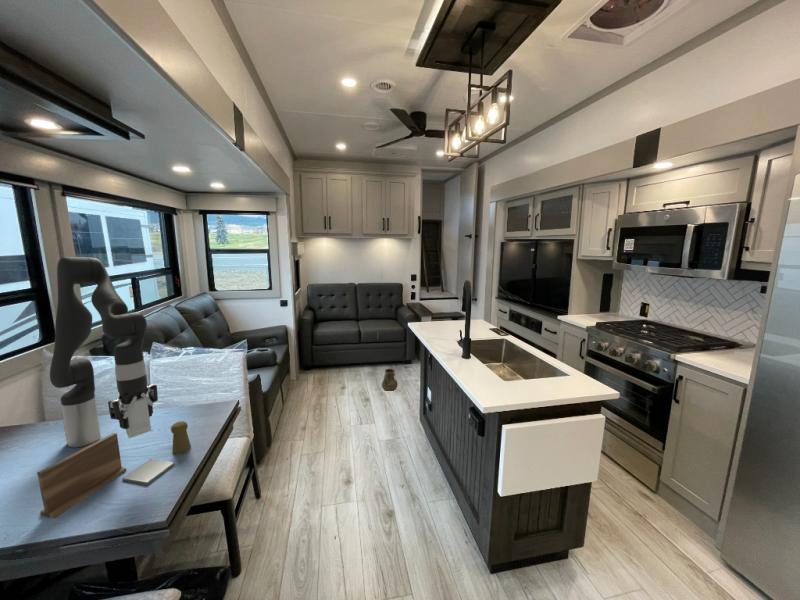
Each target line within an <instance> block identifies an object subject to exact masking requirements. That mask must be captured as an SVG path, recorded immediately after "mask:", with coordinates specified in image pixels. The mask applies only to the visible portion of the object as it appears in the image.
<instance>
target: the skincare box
mask: <svg viewBox="0 0 800 600" xmlns="http://www.w3.org/2000/svg"><path fill="white" fill-rule="evenodd" d="M128 405H129V404H125V403H124V404H123V408H124V409H125V408H127V407H128ZM123 414H124V413H123ZM127 417H128V422H129V428H128V429H125V431H126V435H127V436H128V439H131V438H134V437H138V436H140V435H143V434H147V433H150V432H152V426H151V420H150V419H151V418H150V417H149V410H148V404H147V398H146V397H144V398H139V399H137V400H136V401H135V402H134V405H133V407H132V409H131V411H129V413H128V416H127Z"/></svg>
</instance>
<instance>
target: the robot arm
mask: <svg viewBox="0 0 800 600" xmlns="http://www.w3.org/2000/svg"><path fill="white" fill-rule="evenodd" d="M56 272H57V273H56V278H57V279H56V280H57V281H56V283H57V306H56V315H55V325H54V326H55V327H54V330H55V331H54V336H55V337H54V349H53V353H52V357H51V363H50V368H49V379H50V380H49V381H50V383H51V384H52V386H53V387H55V388H58V389H62V388H63V389H64V388H67V387H71V386H73V388H71V389H69V390H68V391H67V392H65V393H64V394H63V395H61V397H60V405H61V410H62V416H63V421H62V424H63V430H64V436H65V440H66V444H67V446H68V447H69V448H74V449H75V448H81V447H86V446H89V445H91V444H93V443H95V442H97V441H99V440H100V439H101V437H102V436H101V435H102V434H101V429H100V422H99V421H100V420H99V414H98V409H97V402H96V396H95V391H96V387H95V386H96V383H95V371H94V367H93V364H92V362H91V360H90V359H89V358H87V357H80V358H75V359H73V356H74V354H75V353H76V351H77V350H78V349H80V347H81V346H82V345H83V344H84V343H85V341H87V339H88V338H89V337H90V335H91V332H92V325H93V314H92V313H91V311H90V310H89V309H88V307H87V306H86V305H84V303H83V302H81V300H80V299H79V298H78V297H77V295H76V292H75V288H74V286H75V285H86V284H87V285H89V284H96V287H95V288H94V290H93V292H92V294H91V298H90V299H91V303H92V305H93V307H94V309H95V310H96V311H97V313H98V314H99V316H100V319H101V325H102V326H101V327H102V332H103V333H104V335H105V336H106V337H107V338H111V339H118V338H125V337H129V338H128V339H127V340H126V341H124V342H122V343H119V344H117V345H116V346H114V347H113V357H114V365H115V367H114V373H115V381H116V388H117V392H118V398H116V399H115V400H109V401H108V402H107V405H108V406H107V407H108V411H109V417H110V419H111V420H118V423H119V428H121V429H123V430H126V429H128V428H129V422H128V417H127V416H128V413H129V411H131V409H132V407H133V405H134V402H135V401H136V400H137V399H139V398H144V397H146V398H147V404H148V410H149V418H150V417H152V416H153V413H154V409H153V405H154V404H155V403H156V402H158V400H159V398H158V394H159V393H158V385H157V384H152V383H151V384H150V383H149V384H148V376H147V367H146V363H145V359H144V352H143V350H144V349H143V346H144V339H145V334H146V331H147V328H148V327H147V326H148V325H147V322H148V321H147V319H146V317H145V316H144V315H143V314H142V313H140V312H130V313H128V312H129V308H128V305H127V304H126V303H125V302H124V300H123V299H122V298H121V296H120V295H119V293H118V292H117V291H116V289H115V287H114V285H113V282H112V280H111V278H110V275H109V273H108V271H107V269H106V267H105V265H104V264H103V262H102V261H101V260H100V259H98V258H96V257H87V256H85V257H84V256H83V257H81V256H80V257H79V256H63V257H61V258H60V259H59V260H58V263H57V267H56ZM74 385H75V386H74ZM124 403H125V404H129V405H128V407H127V408H125V409H124V408H123V404H124ZM123 413H124V414H123Z"/></svg>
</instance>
